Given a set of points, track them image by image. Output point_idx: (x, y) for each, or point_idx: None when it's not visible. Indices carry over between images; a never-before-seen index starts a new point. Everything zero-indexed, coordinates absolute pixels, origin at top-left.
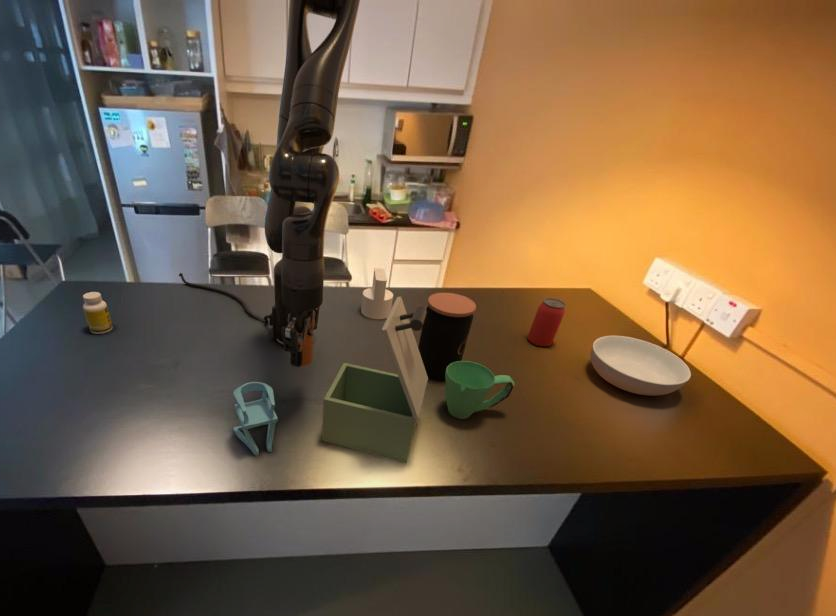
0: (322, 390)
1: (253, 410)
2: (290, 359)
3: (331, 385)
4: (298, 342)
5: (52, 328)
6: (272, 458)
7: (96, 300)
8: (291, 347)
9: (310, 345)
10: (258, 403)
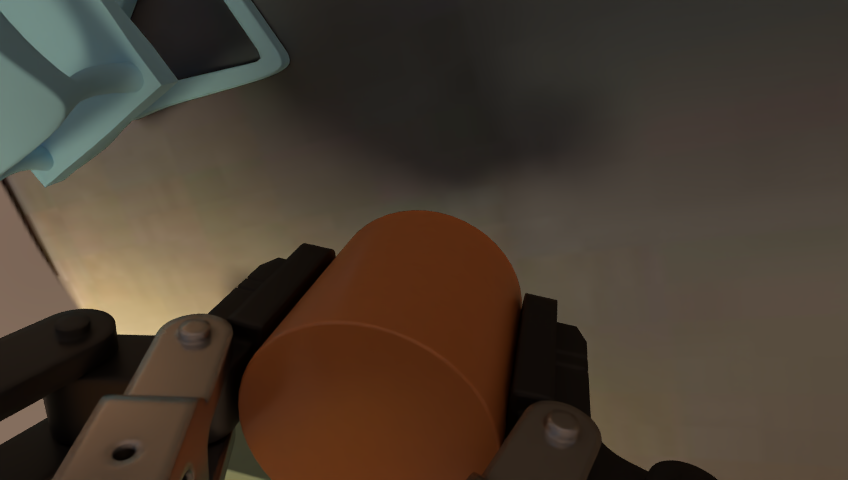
0: (598, 262)
1: (33, 34)
2: (286, 261)
3: (237, 474)
4: (291, 414)
5: None
6: None
7: None
8: (47, 408)
9: None
10: (95, 42)
